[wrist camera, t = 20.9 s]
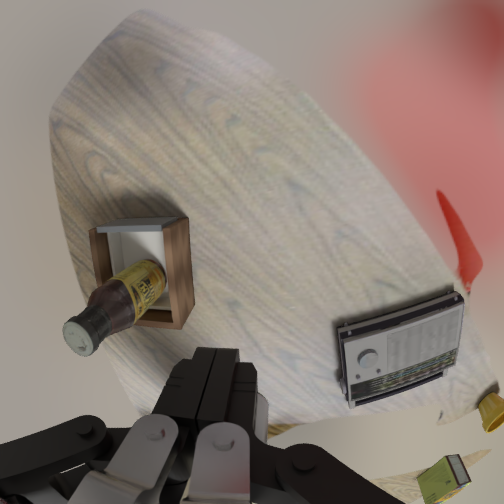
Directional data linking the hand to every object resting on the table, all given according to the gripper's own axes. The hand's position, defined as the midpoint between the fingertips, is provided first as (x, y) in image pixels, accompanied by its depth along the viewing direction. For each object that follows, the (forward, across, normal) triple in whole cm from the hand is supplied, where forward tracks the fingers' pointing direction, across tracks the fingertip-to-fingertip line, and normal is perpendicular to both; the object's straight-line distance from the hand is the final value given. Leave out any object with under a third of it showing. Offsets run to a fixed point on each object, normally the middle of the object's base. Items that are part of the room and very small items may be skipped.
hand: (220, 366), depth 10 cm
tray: (+30, +17, +5) cm, 35 cm away
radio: (+32, -26, +24) cm, 48 cm away
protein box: (+32, -65, +86) cm, 113 cm away
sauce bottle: (+30, +16, +7) cm, 35 cm away
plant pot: (+32, -66, +50) cm, 89 cm away
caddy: (+32, +17, +6) cm, 36 cm away
